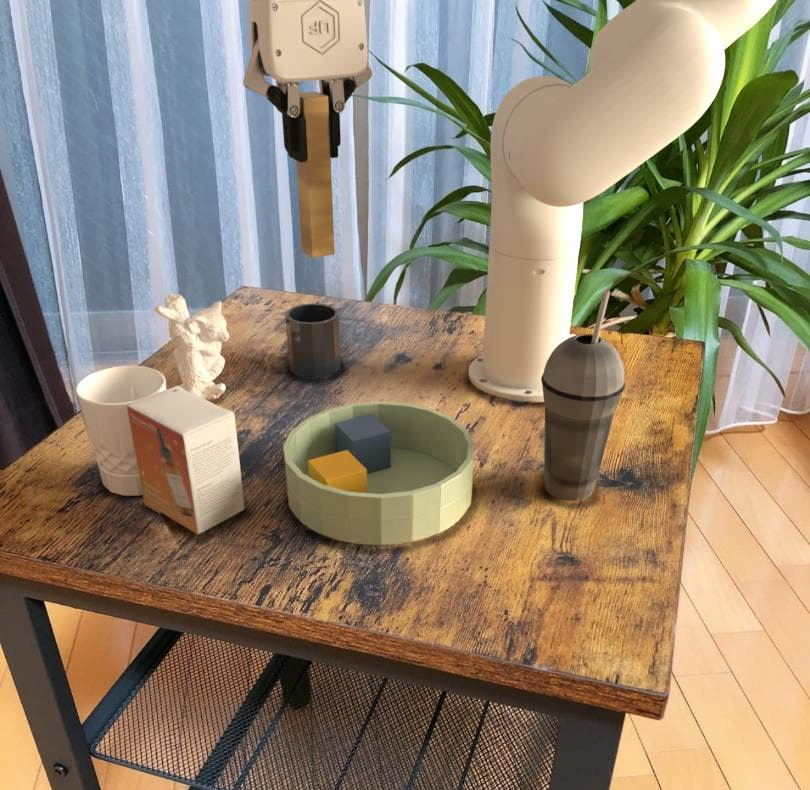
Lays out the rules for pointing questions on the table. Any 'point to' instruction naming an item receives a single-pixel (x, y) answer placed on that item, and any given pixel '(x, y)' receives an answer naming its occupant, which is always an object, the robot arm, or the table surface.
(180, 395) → the small box
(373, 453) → the blue block
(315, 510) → the bowl
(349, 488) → the mustard block
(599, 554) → the table surface
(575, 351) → the beverage cup
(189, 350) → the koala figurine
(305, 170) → the tan wooden bar
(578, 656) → the table surface
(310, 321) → the utensil pot
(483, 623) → the table surface
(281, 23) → the robot arm
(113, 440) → the white cup
